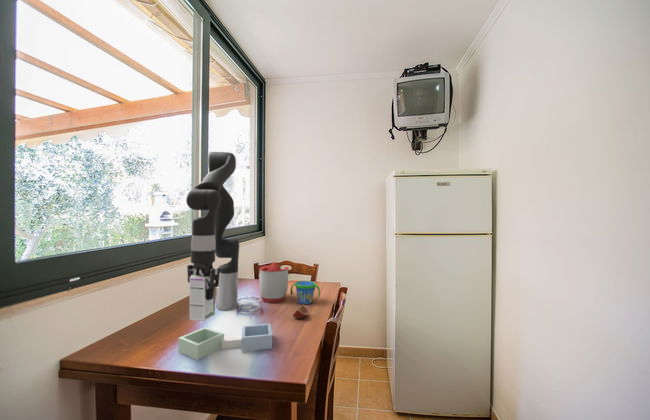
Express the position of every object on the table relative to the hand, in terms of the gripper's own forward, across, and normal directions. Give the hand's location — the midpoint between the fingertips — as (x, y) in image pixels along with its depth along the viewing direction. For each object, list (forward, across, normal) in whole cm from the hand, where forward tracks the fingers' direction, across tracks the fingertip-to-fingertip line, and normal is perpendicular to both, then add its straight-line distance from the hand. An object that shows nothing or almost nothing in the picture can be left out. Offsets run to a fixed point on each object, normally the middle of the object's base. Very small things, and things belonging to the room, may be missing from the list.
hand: (202, 297), depth 91 cm
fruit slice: (+18, +13, +40) cm, 46 cm away
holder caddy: (+17, +6, +5) cm, 19 cm away
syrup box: (+7, 0, 0) cm, 7 cm away
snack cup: (+18, +3, +58) cm, 61 cm away
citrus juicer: (+18, -14, +54) cm, 59 cm away
